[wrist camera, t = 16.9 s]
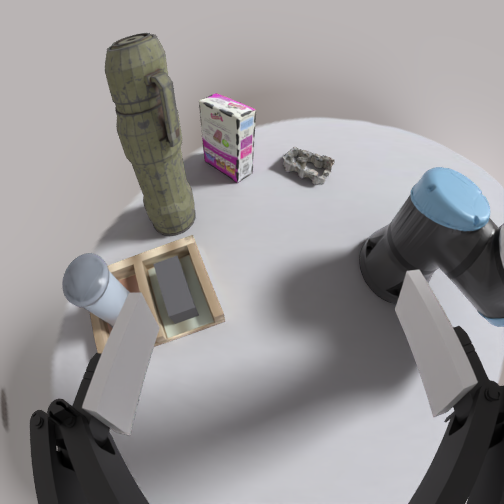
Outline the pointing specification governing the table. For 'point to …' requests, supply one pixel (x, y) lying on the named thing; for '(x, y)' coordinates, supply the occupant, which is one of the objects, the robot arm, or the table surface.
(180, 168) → the thermos
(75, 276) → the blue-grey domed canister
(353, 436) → the table surface
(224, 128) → the candy bar box
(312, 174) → the egg carton
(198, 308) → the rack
